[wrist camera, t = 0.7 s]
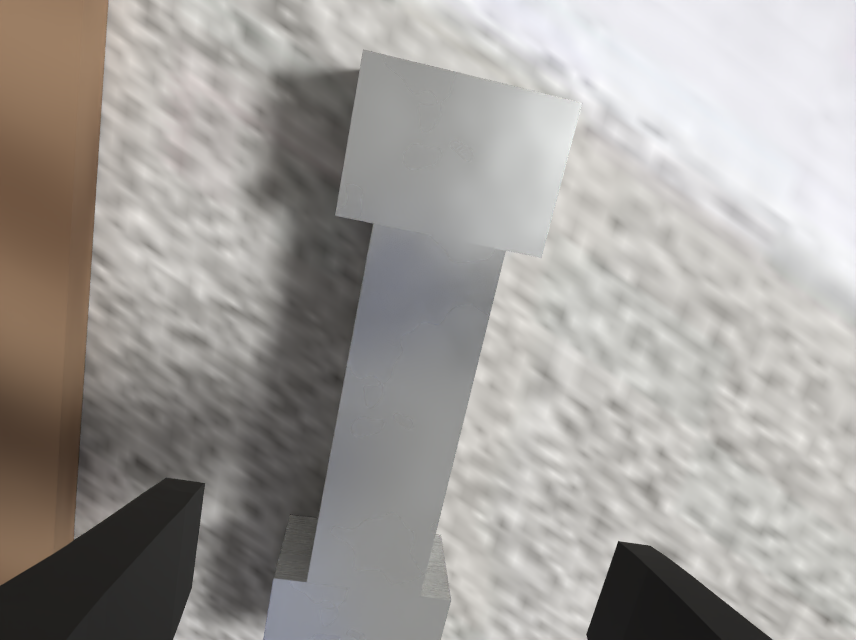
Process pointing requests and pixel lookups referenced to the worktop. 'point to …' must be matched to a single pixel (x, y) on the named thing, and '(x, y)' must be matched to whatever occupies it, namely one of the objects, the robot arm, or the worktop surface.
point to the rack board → (45, 263)
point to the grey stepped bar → (415, 336)
